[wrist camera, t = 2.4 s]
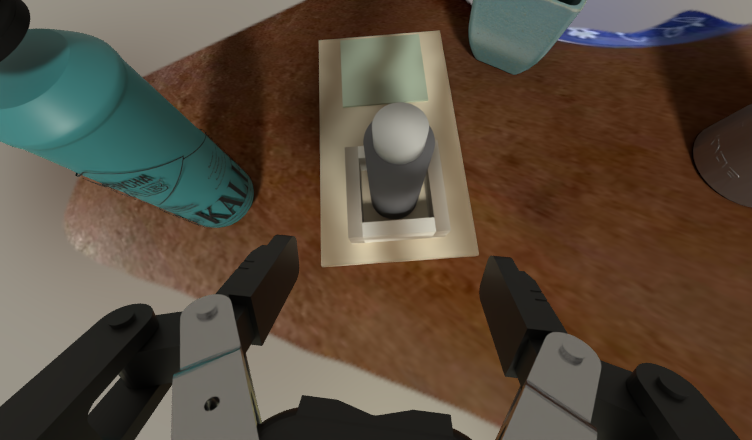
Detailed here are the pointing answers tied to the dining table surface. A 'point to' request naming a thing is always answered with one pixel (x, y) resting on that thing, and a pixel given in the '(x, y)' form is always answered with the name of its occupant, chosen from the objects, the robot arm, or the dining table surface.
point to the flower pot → (518, 30)
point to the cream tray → (347, 157)
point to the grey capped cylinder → (397, 158)
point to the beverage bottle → (110, 123)
